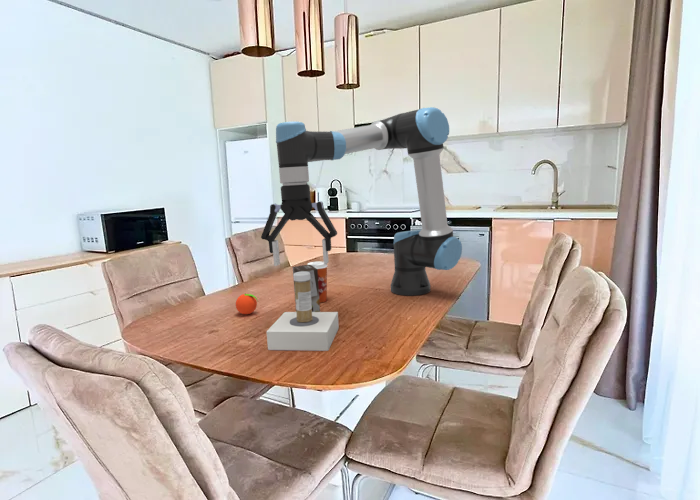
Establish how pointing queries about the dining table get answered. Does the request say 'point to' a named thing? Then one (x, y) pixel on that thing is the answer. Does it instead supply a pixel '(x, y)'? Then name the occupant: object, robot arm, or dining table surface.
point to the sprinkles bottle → (303, 296)
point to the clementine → (246, 303)
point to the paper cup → (321, 279)
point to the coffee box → (311, 284)
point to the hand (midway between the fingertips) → (301, 264)
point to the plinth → (303, 332)
